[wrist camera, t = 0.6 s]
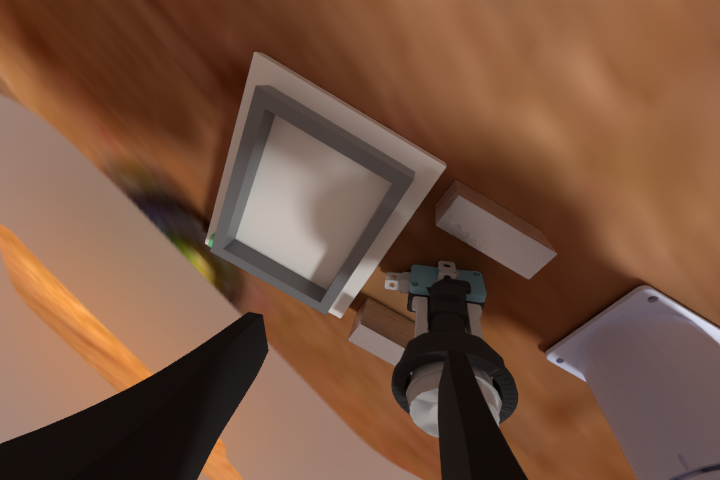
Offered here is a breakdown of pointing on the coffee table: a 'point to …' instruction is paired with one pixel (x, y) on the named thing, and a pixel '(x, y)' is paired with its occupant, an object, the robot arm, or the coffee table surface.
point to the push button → (446, 342)
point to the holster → (476, 228)
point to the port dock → (313, 189)
